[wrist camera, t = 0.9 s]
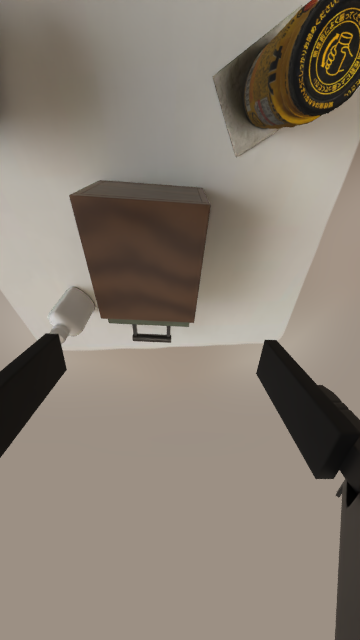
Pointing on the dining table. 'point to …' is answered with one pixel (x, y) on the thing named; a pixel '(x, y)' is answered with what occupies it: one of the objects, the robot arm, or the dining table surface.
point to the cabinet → (143, 248)
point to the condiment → (292, 72)
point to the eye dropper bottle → (71, 313)
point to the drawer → (150, 336)
